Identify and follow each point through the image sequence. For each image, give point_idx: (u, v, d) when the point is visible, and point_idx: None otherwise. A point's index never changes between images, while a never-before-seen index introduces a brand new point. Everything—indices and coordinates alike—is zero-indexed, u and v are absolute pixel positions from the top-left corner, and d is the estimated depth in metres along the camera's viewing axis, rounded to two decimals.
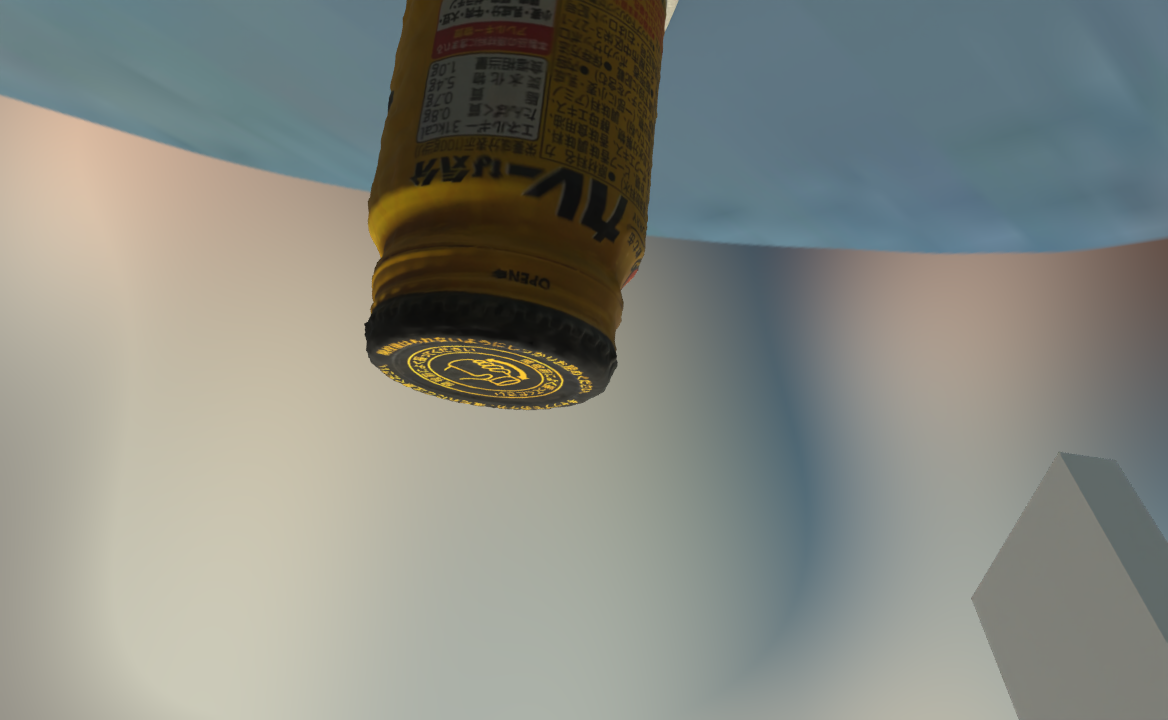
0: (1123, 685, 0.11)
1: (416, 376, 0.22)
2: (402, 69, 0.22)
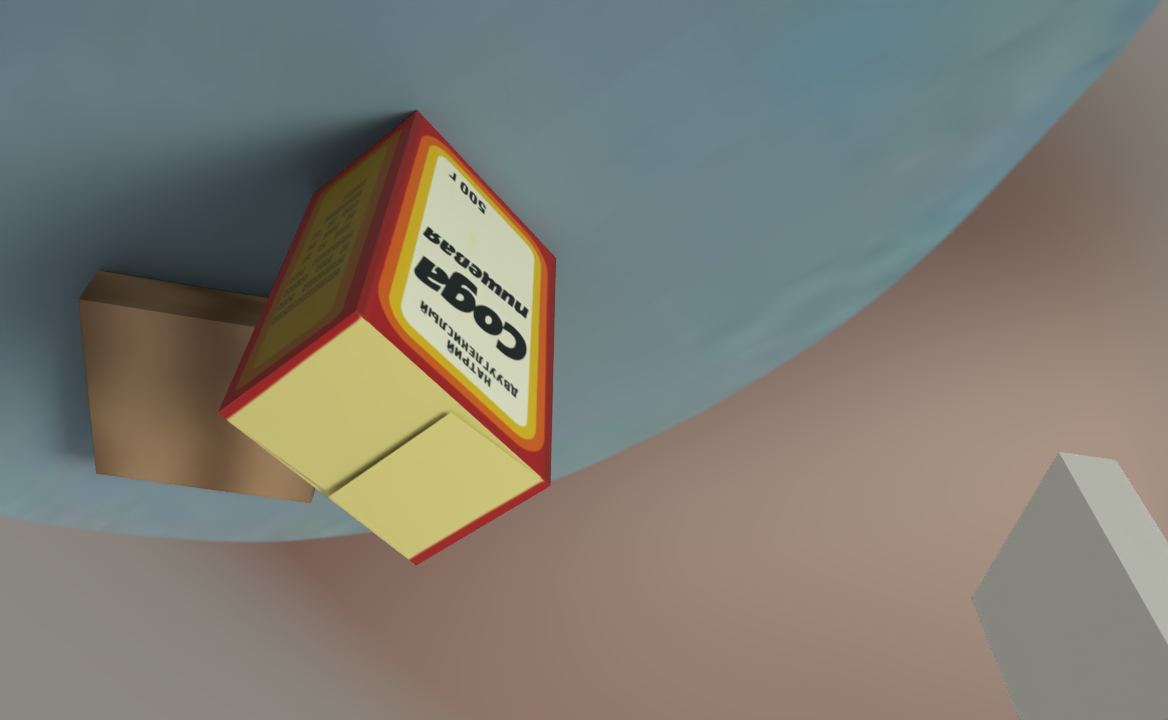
0: (1123, 685, 0.11)
1: None
2: None
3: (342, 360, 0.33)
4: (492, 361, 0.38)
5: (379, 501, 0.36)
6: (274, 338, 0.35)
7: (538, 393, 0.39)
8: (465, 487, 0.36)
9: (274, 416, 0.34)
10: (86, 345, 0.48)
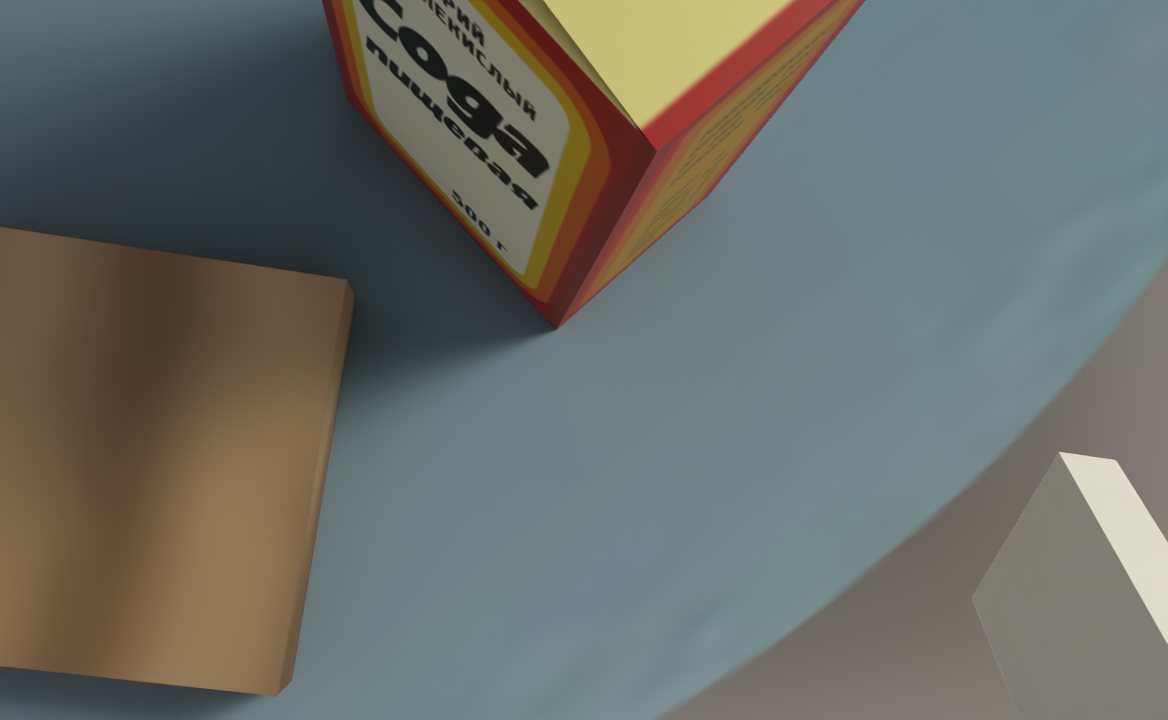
0: (1123, 685, 0.11)
1: None
2: None
3: None
4: None
5: None
6: None
7: None
8: None
9: None
10: None
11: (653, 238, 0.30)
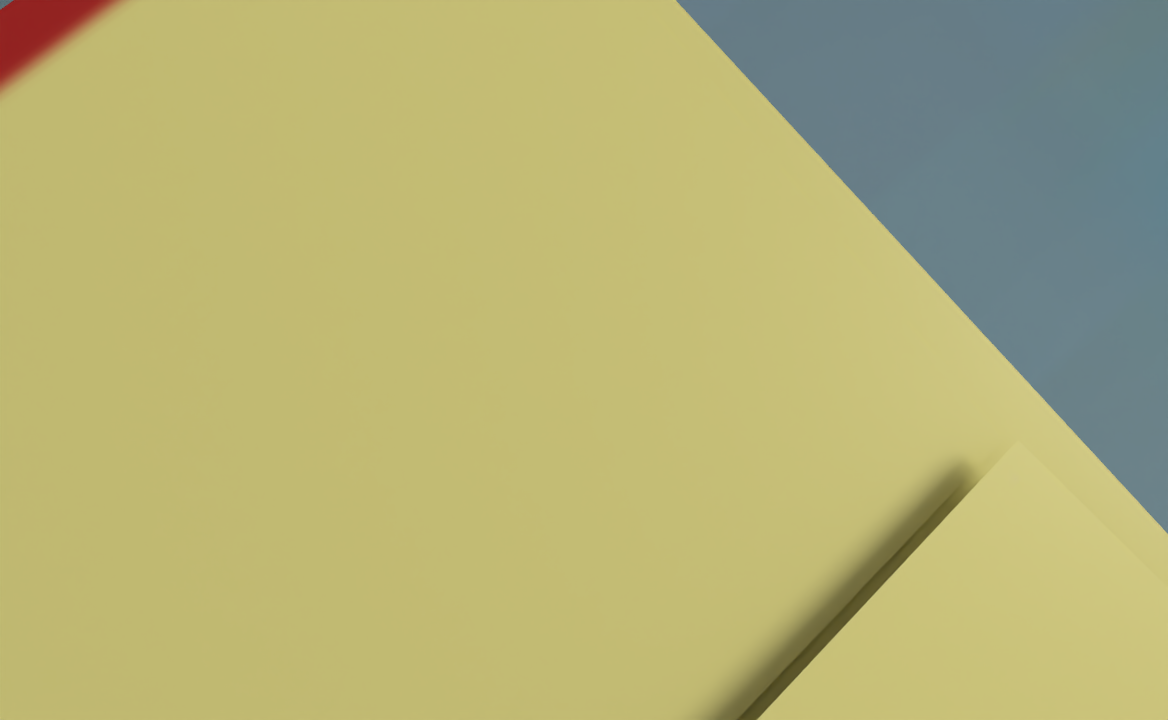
0: None
1: None
2: None
3: (293, 63, 0.05)
4: None
5: None
6: None
7: None
8: None
9: None
10: None
11: None
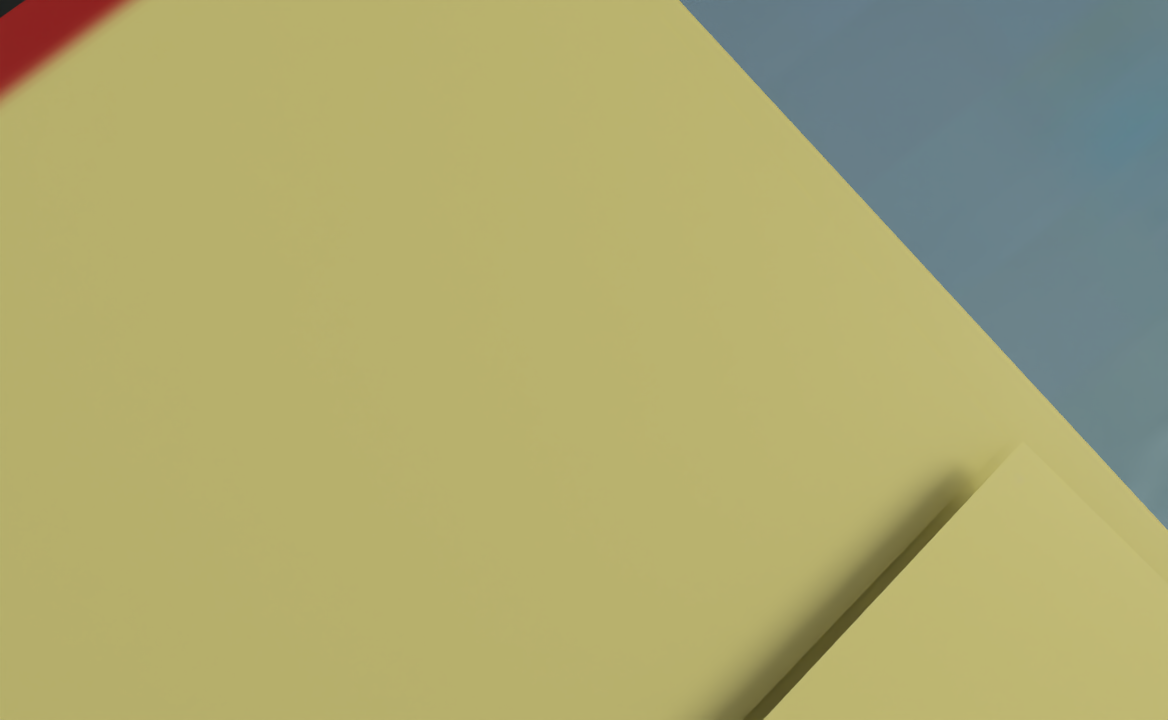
0: None
1: None
2: None
3: (298, 65, 0.05)
4: None
5: None
6: None
7: None
8: None
9: None
10: None
11: None
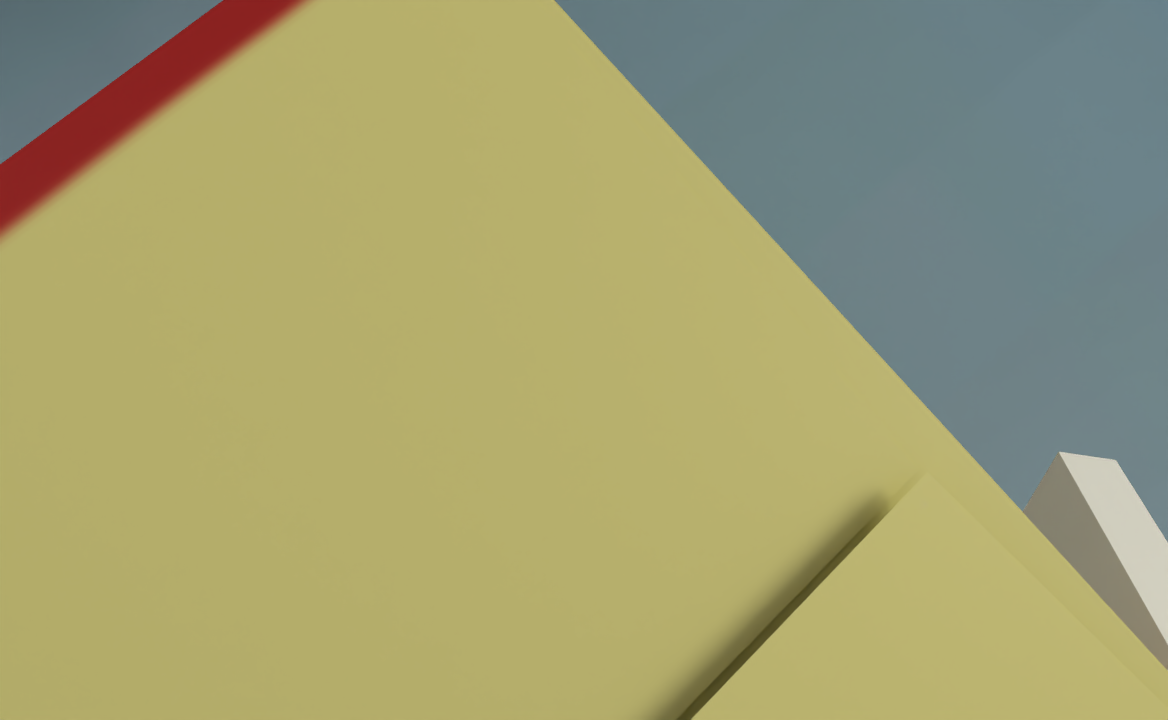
0: None
1: None
2: None
3: (318, 154, 0.06)
4: None
5: None
6: None
7: None
8: None
9: None
10: None
11: None
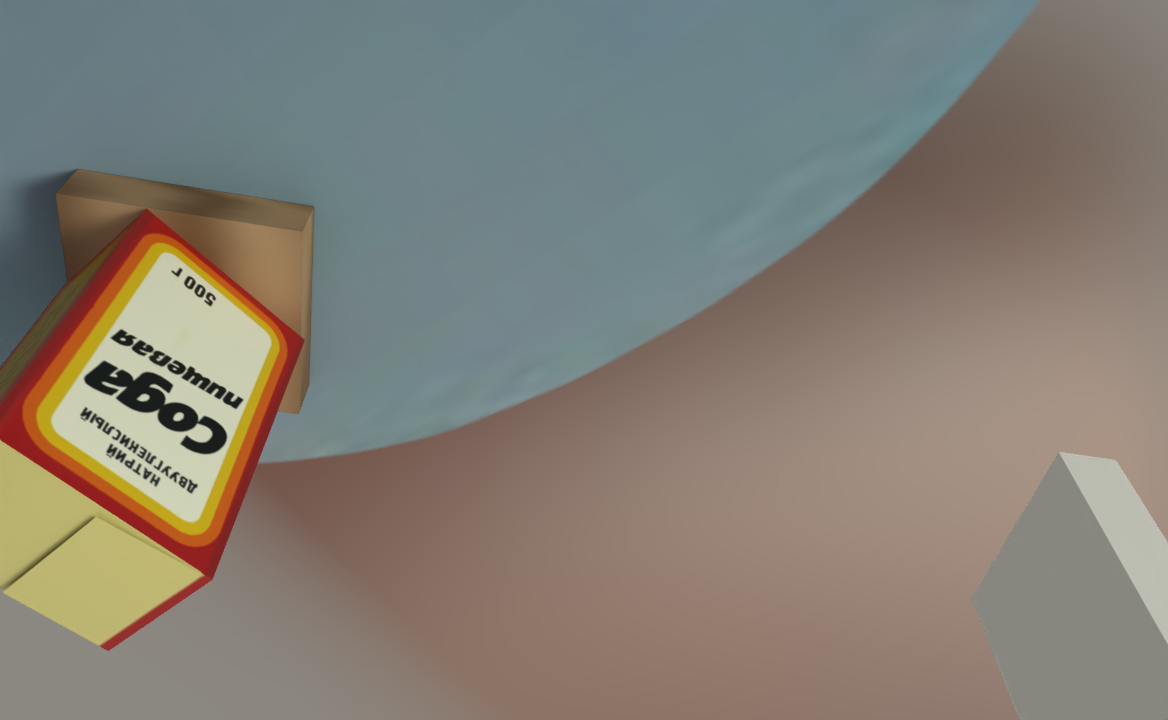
0: (1123, 685, 0.11)
1: None
2: None
3: None
4: (169, 459, 0.40)
5: (53, 595, 0.38)
6: None
7: (227, 485, 0.41)
8: (132, 582, 0.38)
9: None
10: (65, 244, 0.48)
11: None
